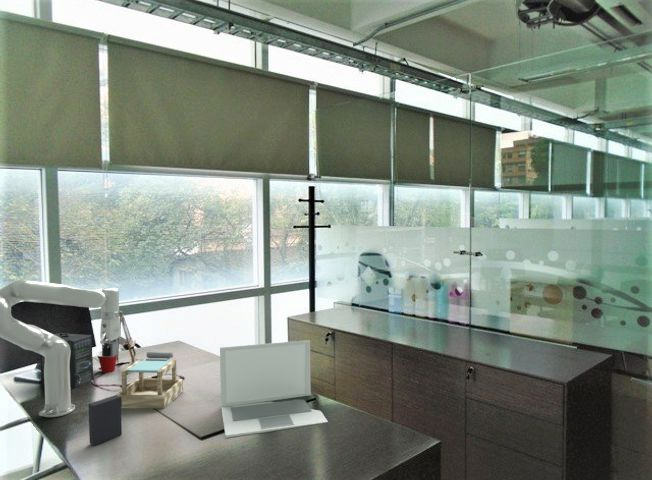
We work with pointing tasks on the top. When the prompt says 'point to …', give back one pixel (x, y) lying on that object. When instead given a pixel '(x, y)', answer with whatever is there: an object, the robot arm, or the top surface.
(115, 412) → the calculator
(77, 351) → the headset box
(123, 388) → the tan crate frame
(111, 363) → the plastic cup
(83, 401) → the top surface
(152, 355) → the hatch
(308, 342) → the laptop
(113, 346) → the basalt block
